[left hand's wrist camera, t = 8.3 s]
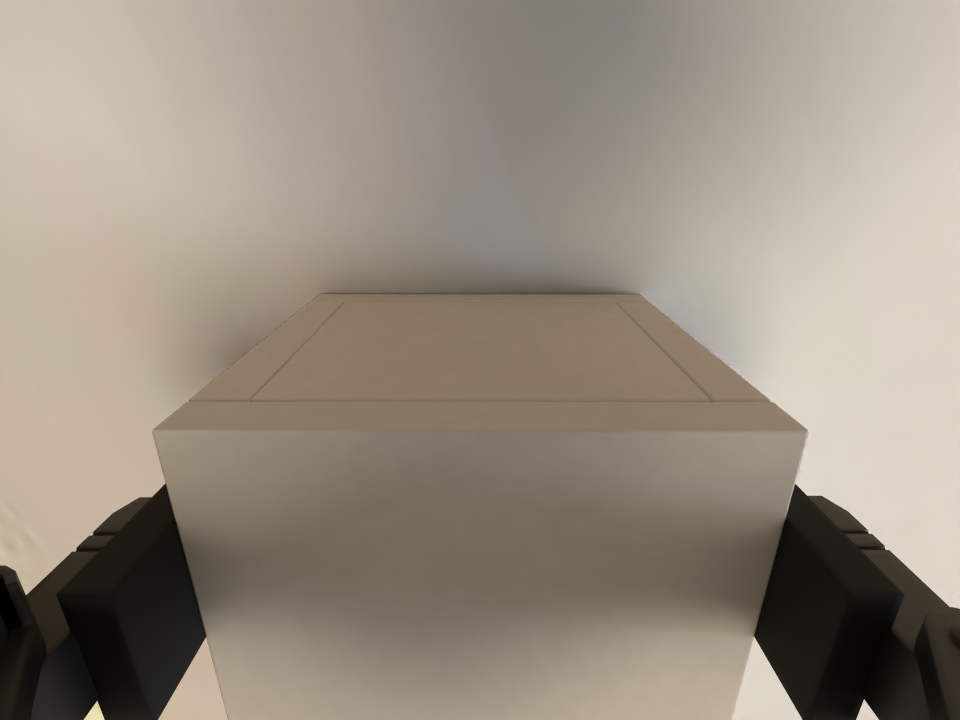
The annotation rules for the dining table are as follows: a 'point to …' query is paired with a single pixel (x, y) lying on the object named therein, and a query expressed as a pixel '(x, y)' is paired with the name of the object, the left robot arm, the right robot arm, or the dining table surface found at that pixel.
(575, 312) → the cabinet
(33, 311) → the dining table surface
